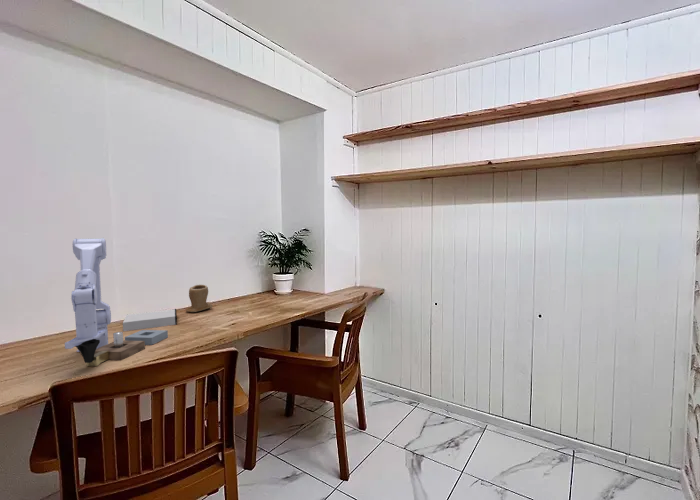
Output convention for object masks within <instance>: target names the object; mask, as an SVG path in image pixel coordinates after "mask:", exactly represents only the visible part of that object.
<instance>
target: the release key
mask: <svg viewBox="0 0 700 500" xmlns="http://www.w3.org/2000/svg"><path fill="white" fill-rule="evenodd" d="M108 359H109V352H108V351H101V352H98V353H96V354H94V358H93V362H91V363H85V364H86V365H85V366H86V367H88V366H89V367H97V366H99V365H101V364H102V363H103V362H105V361H109V360H108Z"/></svg>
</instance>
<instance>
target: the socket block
mask: <svg viewBox="0 0 700 500" xmlns="http://www.w3.org/2000/svg"><path fill="white" fill-rule="evenodd" d="M123 344H124V346H123V347H121V348H114V341H112V342H110V343H109V342H108V344H107V345H104V346H102V347H100V348H97V349H96V351H95V354H96V353H98V352H101V351H108V352H109V359H108V360H107V361H109V360H110V361H113V360H114V361H117V360H118V361H122V360H125V359H127V358H128V357H131V356H132V355H135V354H137V353H138V352H141V351H143V350H145V349H146V345H145V341H125V339H123Z"/></svg>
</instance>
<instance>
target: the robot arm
mask: <svg viewBox="0 0 700 500" xmlns="http://www.w3.org/2000/svg"><path fill="white" fill-rule="evenodd" d="M72 252H73V254H74V256H75V258H76V259H77V260H78V261H80V263H79V264H80V271H78V272H77V273H76V274H75V282H74V290H72V291H71V296H70V297H71V298H70V299H71V303H72V308H73V309H72V311H73V312H74V318H75V319H74V320H75V337H74V338H72V339H70V340H69V341H65V342H64V349H66V350H71V349H73V348H74V347H76V352H78V353H79V352H80V354H81V355H82V358H83V360H84V363H85V364H86V363H91V362H93V358H94V354H95V351H96V349H97V348H100V347H102V346H104V345H107V344H109V334H108V333H109V332H108V325H110V324H111V322H112V311H111V307H110V305H109V304H108V303H107V302H105V301H102V291H101V290H102V288H101V272H100V270H101V267H100V264H101V262H102V261H103V260H105V259H107V240H106V239H105V238H104V237H101V238H74V239H73V240H72Z"/></svg>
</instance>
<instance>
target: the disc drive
mask: <svg viewBox="0 0 700 500" xmlns="http://www.w3.org/2000/svg"><path fill="white" fill-rule="evenodd" d="M177 314H178V313H177V308H174V309H165V310H164V309H163V310H155V311H144V312H138V313H136V312H135V313H129V314H126V315H125V317H124V320H123V322H122V332H128V331H135V330H147V329H152V328H159V327H161V328H162V327H167V326H168V325H169V326H176V325H178V315H177Z"/></svg>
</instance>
